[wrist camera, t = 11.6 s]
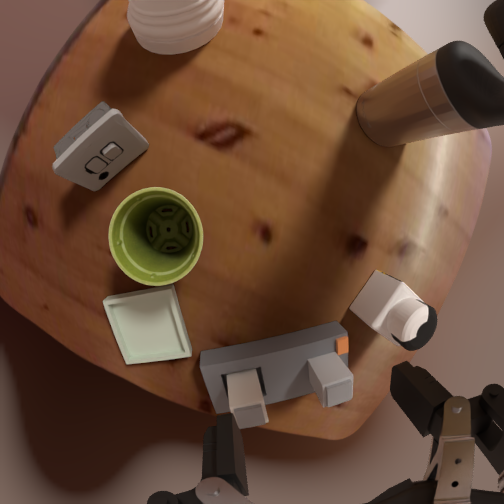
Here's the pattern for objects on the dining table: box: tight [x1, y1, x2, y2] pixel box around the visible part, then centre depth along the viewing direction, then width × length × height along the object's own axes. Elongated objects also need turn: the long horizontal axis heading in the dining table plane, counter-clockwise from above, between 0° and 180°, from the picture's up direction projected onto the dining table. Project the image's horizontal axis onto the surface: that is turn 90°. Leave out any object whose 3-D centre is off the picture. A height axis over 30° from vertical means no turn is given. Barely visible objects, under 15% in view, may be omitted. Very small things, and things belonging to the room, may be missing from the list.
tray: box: [103, 284, 192, 364], centre depth 34 cm, size 10×10×2 cm
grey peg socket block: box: [200, 321, 353, 414], centre depth 33 cm, size 20×9×11 cm, turn 100°
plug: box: [227, 368, 269, 429], centre depth 32 cm, size 4×4×10 cm
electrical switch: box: [53, 101, 149, 191], centre depth 26 cm, size 9×5×9 cm, turn 125°
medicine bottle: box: [349, 270, 437, 351], centre depth 33 cm, size 7×7×12 cm
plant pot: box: [109, 187, 203, 286], centre depth 29 cm, size 9×9×9 cm
